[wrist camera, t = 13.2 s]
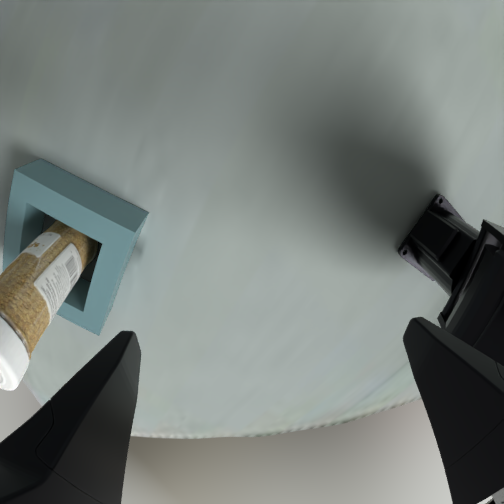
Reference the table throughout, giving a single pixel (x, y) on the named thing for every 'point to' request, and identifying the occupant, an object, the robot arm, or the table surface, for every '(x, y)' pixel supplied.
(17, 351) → the sprinkles bottle
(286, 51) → the table surface
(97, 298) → the holder
